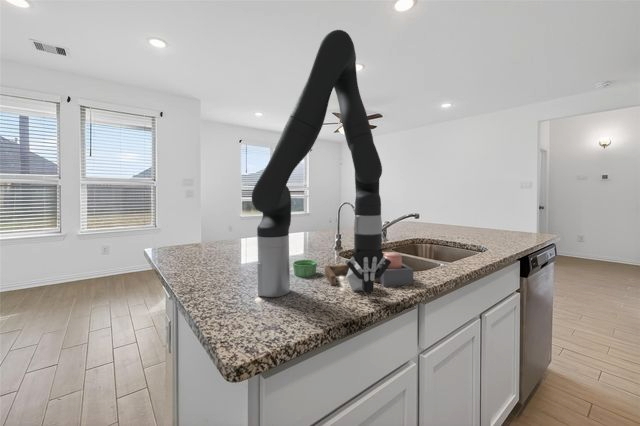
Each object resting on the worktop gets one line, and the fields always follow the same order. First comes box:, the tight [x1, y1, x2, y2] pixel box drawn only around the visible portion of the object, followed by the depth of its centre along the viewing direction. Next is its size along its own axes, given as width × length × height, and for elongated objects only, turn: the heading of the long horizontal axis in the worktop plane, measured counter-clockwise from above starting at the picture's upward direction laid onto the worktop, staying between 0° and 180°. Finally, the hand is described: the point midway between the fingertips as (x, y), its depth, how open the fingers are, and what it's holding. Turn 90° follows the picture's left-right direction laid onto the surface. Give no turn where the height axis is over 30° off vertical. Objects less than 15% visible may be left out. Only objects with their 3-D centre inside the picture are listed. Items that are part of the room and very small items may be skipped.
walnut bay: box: [324, 264, 380, 286], centre depth 97 cm, size 16×14×3 cm
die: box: [345, 262, 364, 292], centre depth 85 cm, size 8×9×10 cm
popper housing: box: [376, 262, 414, 287], centre depth 93 cm, size 10×10×5 cm
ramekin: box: [292, 259, 318, 278], centre depth 103 cm, size 9×9×4 cm
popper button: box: [383, 251, 403, 269], centre depth 93 cm, size 6×6×6 cm
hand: (368, 293), depth 78 cm, fingers closed
